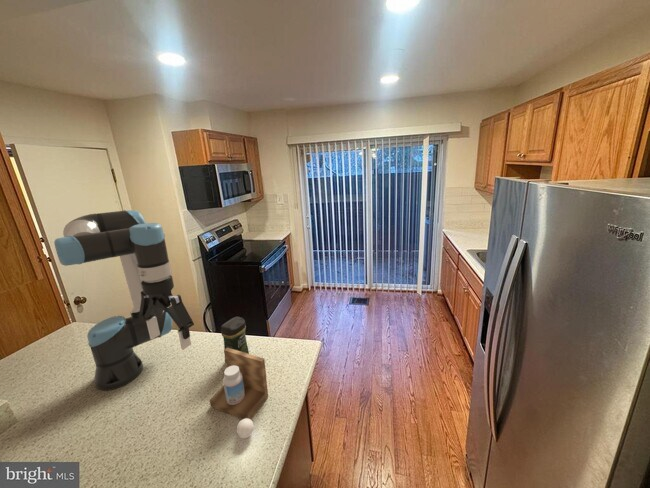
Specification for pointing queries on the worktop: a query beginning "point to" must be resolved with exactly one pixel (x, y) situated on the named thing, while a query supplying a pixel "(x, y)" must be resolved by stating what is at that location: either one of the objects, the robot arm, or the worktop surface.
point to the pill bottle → (233, 385)
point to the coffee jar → (235, 334)
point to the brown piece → (253, 385)
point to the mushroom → (245, 428)
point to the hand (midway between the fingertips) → (170, 341)
